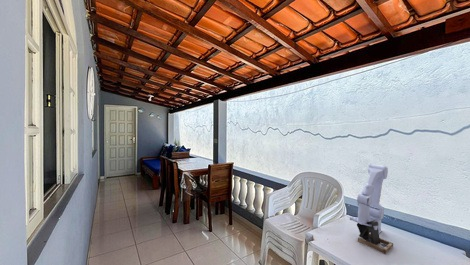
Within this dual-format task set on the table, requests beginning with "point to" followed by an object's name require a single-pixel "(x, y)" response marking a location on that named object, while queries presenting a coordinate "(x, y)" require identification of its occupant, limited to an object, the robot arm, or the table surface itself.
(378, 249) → the walnut bracket
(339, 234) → the table surface
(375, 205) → the robot arm
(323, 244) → the table surface
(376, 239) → the phone stand
